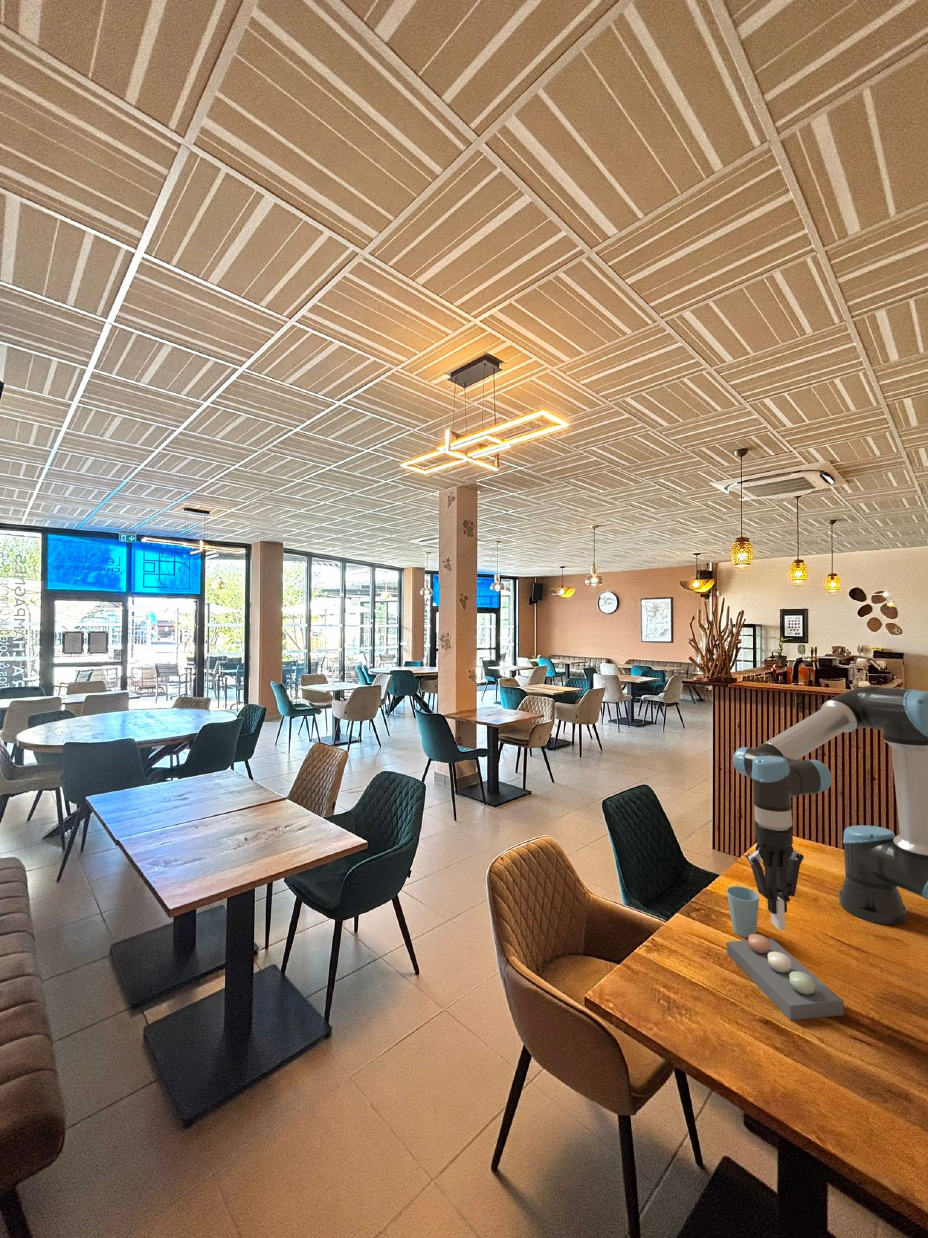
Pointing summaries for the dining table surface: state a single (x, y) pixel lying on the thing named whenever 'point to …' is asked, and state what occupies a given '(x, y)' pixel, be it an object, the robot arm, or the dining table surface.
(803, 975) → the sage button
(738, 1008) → the dining table surface
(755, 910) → the cup
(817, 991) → the gray rectangular slab
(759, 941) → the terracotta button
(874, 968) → the dining table surface
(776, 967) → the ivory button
